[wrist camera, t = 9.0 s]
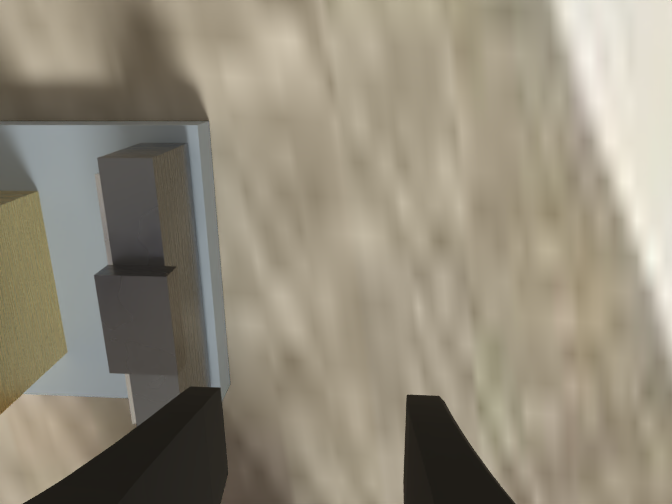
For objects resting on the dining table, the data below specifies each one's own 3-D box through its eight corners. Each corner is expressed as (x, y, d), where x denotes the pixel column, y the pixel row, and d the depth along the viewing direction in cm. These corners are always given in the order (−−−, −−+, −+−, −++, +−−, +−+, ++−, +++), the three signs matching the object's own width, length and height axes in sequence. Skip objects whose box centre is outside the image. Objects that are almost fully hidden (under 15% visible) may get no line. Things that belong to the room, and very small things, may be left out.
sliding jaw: (163, 392, 20) (118, 460, 17) (131, 142, 17) (70, 162, 14) (221, 395, 20) (188, 463, 17) (199, 142, 17) (153, 163, 14)
